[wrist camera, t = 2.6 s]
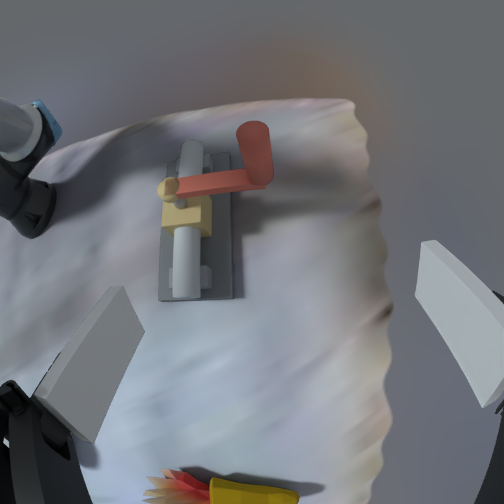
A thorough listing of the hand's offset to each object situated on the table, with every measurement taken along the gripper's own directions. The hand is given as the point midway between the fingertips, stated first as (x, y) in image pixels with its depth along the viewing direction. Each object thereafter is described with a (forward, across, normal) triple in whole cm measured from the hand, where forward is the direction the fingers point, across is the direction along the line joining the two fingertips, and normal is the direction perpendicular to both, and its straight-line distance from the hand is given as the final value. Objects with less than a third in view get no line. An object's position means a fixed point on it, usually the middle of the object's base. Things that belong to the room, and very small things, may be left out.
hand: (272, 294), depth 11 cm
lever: (+25, -7, 0) cm, 26 cm away
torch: (+2, -14, -42) cm, 44 cm away
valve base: (+34, -13, -7) cm, 37 cm away
